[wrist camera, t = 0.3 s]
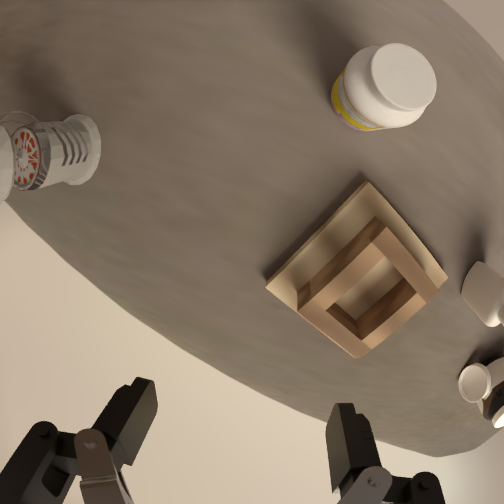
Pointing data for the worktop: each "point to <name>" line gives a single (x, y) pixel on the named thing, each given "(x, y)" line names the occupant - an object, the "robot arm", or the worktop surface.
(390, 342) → the worktop surface
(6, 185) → the french press
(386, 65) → the supplement bottle
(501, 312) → the eye dropper bottle
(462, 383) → the spread jar
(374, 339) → the birch holder
